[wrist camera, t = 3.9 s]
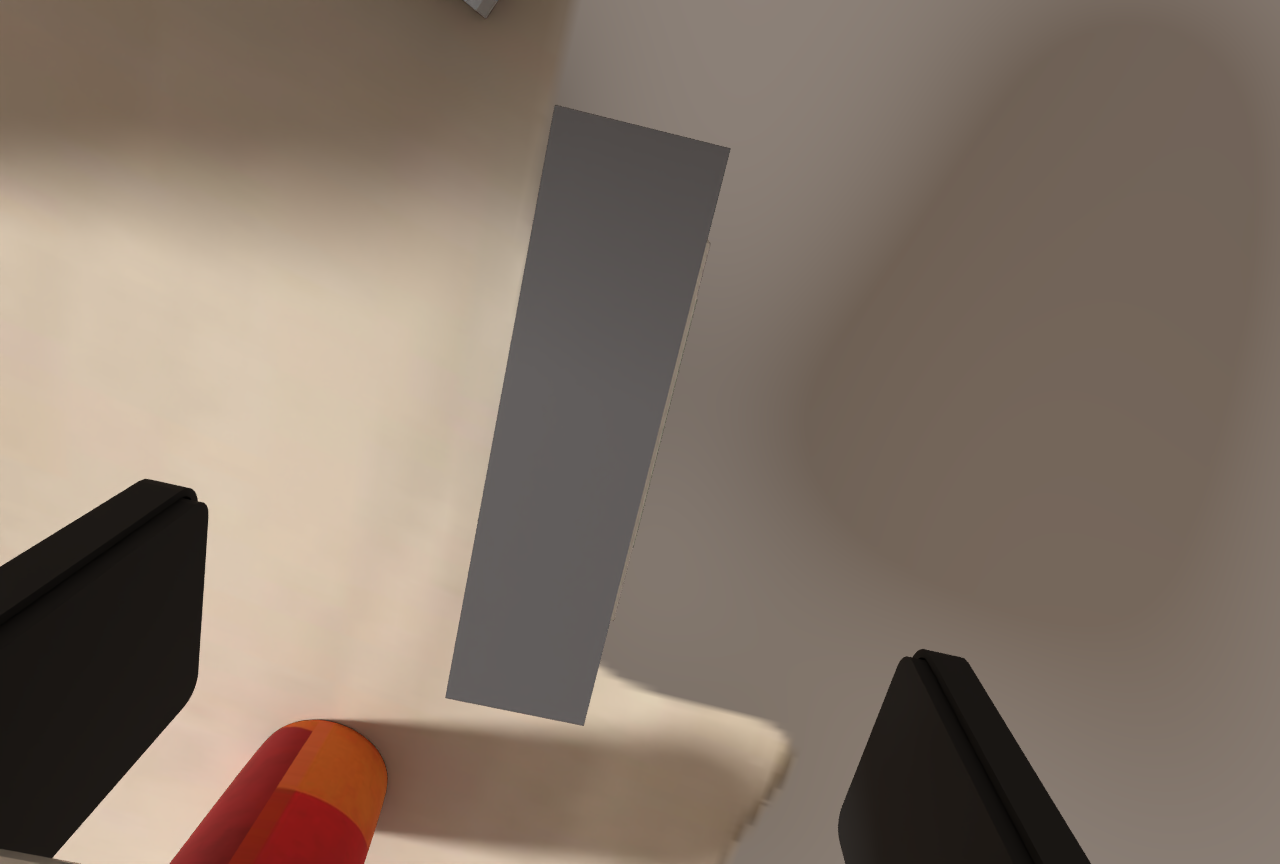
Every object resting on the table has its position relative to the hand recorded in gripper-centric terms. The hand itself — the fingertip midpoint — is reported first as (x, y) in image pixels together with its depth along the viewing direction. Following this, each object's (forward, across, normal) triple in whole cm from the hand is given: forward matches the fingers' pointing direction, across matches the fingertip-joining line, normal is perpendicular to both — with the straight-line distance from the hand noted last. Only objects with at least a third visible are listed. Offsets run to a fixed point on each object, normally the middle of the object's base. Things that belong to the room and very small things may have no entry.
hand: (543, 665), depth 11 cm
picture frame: (+19, +1, 0) cm, 19 cm away
